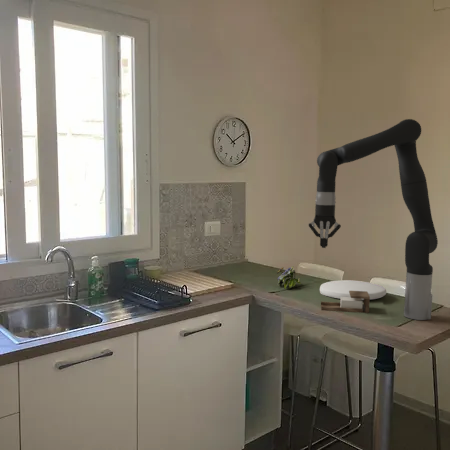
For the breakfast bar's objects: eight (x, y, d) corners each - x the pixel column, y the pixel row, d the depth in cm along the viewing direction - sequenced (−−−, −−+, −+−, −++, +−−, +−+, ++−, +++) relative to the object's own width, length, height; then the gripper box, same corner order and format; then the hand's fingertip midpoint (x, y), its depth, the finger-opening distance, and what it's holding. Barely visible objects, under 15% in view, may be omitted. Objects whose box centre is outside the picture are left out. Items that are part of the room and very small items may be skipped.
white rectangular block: (360, 307, 207) (361, 298, 206) (362, 311, 202) (362, 301, 201) (340, 306, 208) (340, 296, 207) (340, 310, 203) (341, 300, 203)
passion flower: (280, 297, 245) (277, 273, 251) (303, 294, 243) (300, 270, 249) (276, 288, 236) (274, 264, 241) (301, 285, 234) (297, 261, 240)
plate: (309, 286, 225) (333, 276, 247) (310, 301, 225) (334, 289, 247) (373, 290, 209) (393, 278, 231) (374, 306, 209) (393, 293, 231)
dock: (366, 309, 208) (367, 291, 207) (368, 315, 200) (369, 297, 199) (320, 306, 211) (321, 289, 210) (321, 312, 203) (322, 294, 202)
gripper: (342, 203, 204) (340, 246, 206) (308, 202, 206) (306, 245, 208) (343, 204, 197) (341, 250, 199) (308, 203, 199) (306, 248, 201)
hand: (323, 247), depth 204 cm, fingers closed
